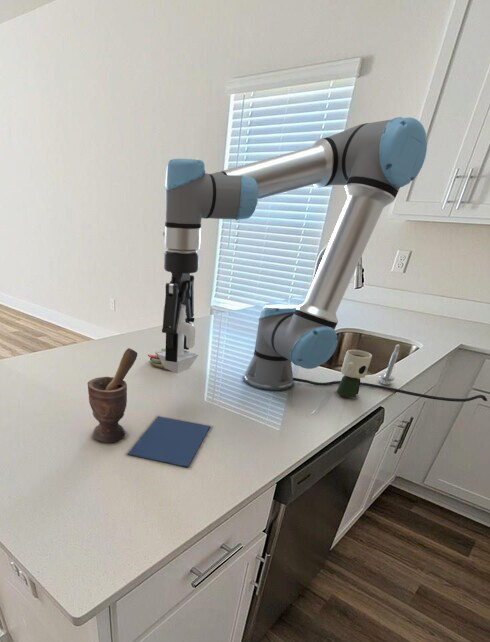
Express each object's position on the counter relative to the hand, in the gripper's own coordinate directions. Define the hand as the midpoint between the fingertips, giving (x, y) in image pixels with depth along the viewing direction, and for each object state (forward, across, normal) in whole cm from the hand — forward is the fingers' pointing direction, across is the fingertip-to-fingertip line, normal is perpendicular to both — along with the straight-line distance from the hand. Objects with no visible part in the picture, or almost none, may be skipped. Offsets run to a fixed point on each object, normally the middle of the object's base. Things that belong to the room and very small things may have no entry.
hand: (177, 354), depth 99 cm
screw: (+17, -49, +57) cm, 77 cm away
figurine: (+4, 0, 0) cm, 4 cm away
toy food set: (+16, -35, -14) cm, 41 cm away
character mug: (+16, -32, +45) cm, 58 cm away
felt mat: (+16, +15, +4) cm, 22 cm away
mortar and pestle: (+16, +17, -10) cm, 25 cm away
